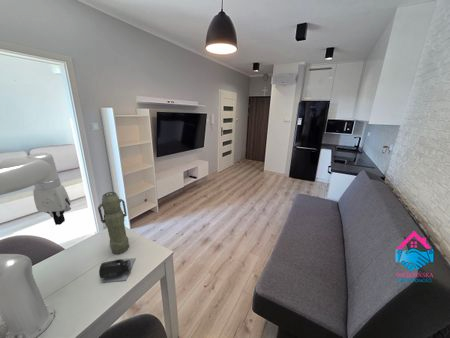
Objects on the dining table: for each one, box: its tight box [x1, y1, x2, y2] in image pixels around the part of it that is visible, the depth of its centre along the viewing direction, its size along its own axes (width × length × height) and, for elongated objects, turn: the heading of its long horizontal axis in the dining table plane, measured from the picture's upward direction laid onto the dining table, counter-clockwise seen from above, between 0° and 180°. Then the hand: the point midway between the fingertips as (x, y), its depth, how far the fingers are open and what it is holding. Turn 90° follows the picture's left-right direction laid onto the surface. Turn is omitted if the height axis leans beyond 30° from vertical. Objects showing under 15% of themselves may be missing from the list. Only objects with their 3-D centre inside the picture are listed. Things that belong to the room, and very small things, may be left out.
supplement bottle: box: [98, 258, 132, 279], centre depth 87 cm, size 7×7×12 cm
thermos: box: [97, 191, 130, 256], centre depth 98 cm, size 9×12×35 cm
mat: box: [102, 257, 136, 284], centre depth 90 cm, size 13×10×1 cm
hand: (60, 222), depth 78 cm, fingers closed
